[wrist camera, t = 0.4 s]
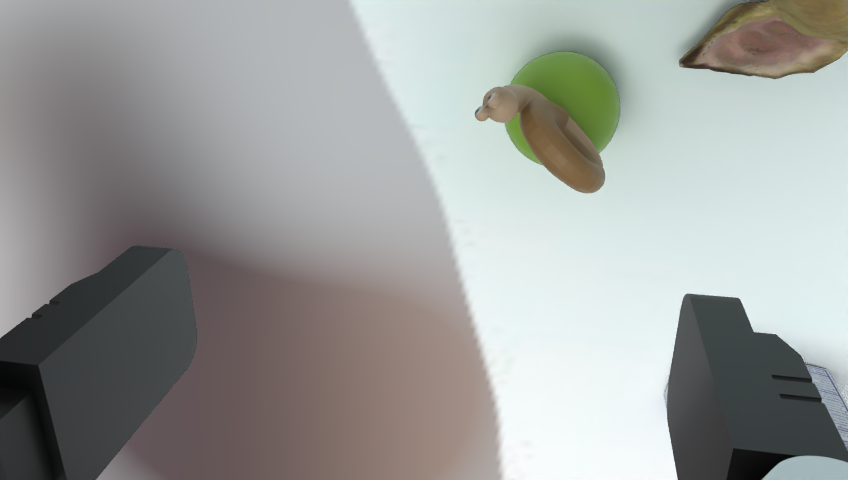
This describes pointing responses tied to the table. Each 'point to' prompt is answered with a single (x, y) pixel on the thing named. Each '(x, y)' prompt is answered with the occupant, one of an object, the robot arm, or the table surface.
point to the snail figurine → (559, 116)
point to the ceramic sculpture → (774, 38)
